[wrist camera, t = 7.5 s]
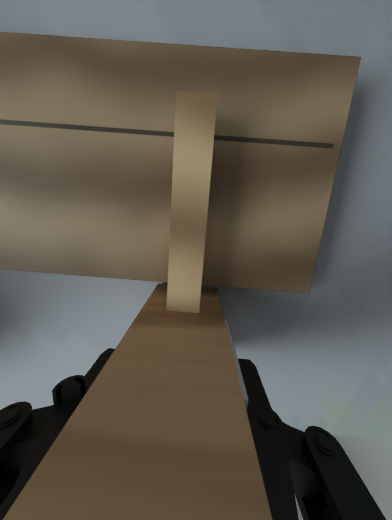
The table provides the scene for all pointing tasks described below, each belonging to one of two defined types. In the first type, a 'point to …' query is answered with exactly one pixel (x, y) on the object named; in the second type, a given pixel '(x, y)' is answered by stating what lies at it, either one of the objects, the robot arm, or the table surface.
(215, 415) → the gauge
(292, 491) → the robot arm
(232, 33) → the table surface
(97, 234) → the board
